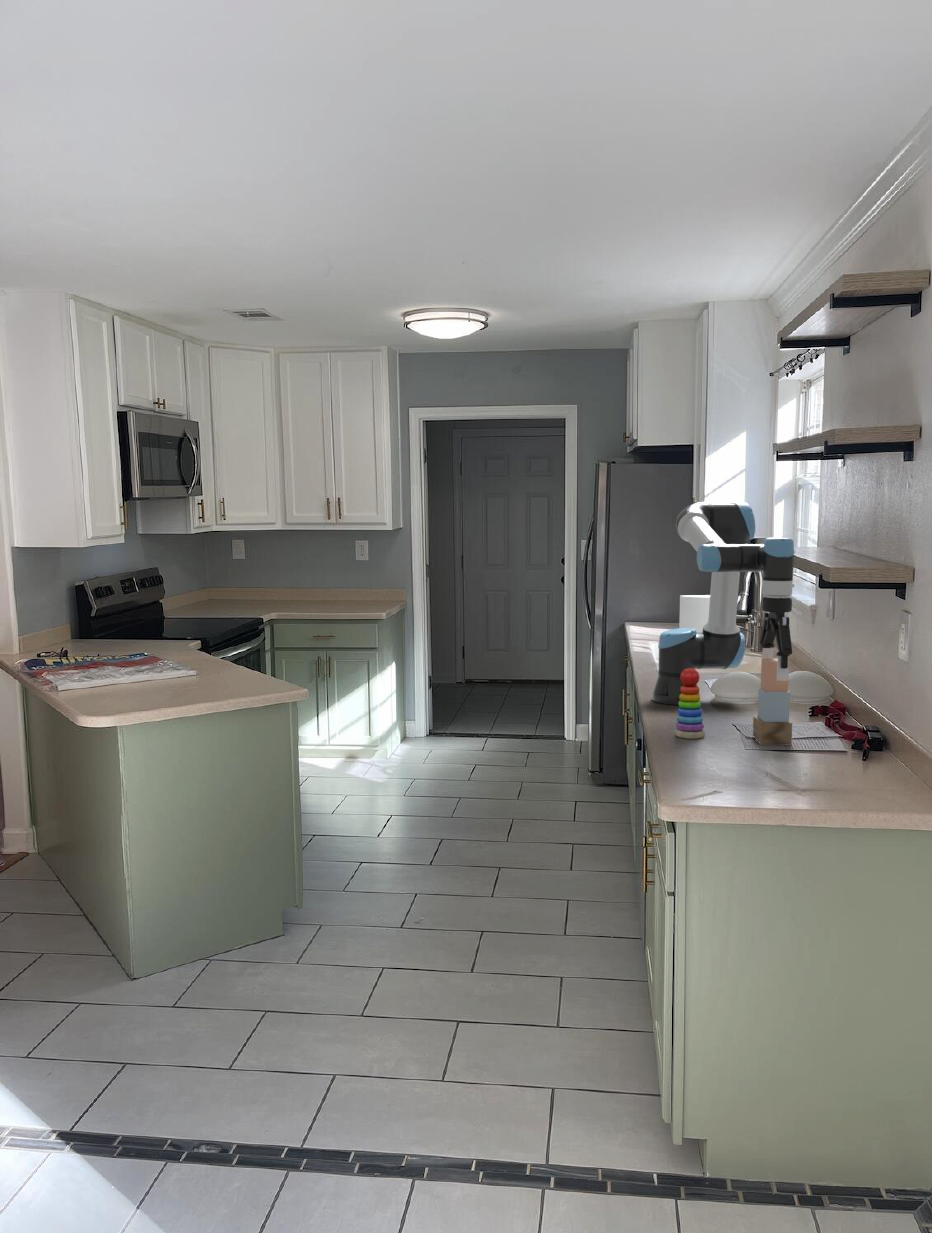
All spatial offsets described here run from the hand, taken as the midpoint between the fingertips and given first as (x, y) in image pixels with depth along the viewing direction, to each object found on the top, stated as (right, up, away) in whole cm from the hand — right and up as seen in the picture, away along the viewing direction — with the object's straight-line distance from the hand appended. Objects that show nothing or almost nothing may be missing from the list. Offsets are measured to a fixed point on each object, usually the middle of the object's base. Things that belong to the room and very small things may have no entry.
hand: (774, 676), depth 257 cm
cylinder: (+12, -4, +131) cm, 132 cm away
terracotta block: (0, -4, +1) cm, 4 cm away
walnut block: (0, -18, +2) cm, 18 cm away
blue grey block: (0, -12, +1) cm, 12 cm away
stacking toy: (-21, -17, +7) cm, 28 cm away
